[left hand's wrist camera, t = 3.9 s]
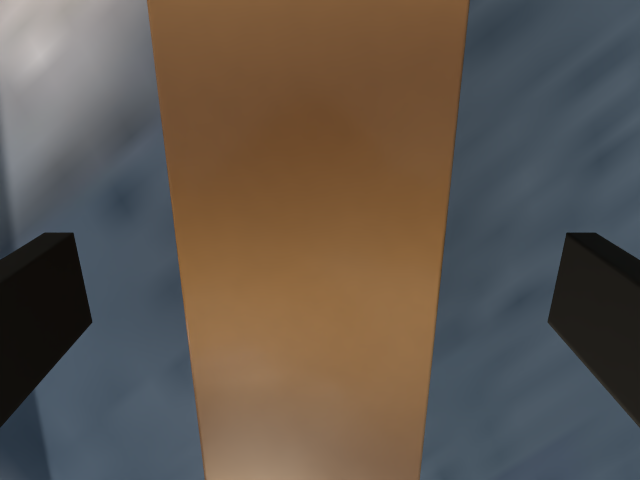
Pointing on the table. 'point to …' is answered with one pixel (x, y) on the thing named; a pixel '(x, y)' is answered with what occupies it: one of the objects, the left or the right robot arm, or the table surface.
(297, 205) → the beam
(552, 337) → the table surface
